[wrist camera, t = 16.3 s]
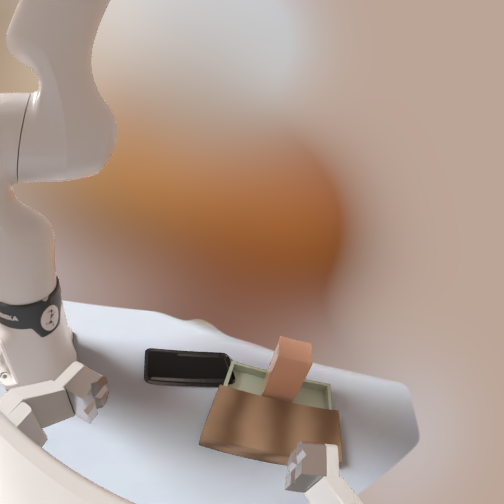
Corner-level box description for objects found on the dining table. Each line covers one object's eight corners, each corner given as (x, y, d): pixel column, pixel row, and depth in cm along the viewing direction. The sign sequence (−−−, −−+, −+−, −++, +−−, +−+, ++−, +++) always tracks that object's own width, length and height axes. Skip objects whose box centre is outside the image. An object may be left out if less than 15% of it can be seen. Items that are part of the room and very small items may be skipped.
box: (220, 395, 39) (222, 388, 39) (229, 368, 46) (231, 360, 45) (327, 419, 38) (332, 412, 37) (325, 391, 45) (330, 384, 44)
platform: (198, 444, 30) (201, 434, 29) (216, 396, 39) (219, 384, 38) (332, 470, 28) (342, 461, 27) (330, 421, 38) (338, 410, 37)
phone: (236, 383, 42) (144, 379, 37) (235, 387, 42) (144, 384, 38) (227, 352, 49) (145, 347, 44) (226, 356, 49) (145, 351, 45)
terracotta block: (259, 400, 40) (278, 355, 36) (263, 380, 44) (280, 336, 41) (289, 407, 39) (312, 364, 36) (291, 386, 44) (311, 343, 41)
